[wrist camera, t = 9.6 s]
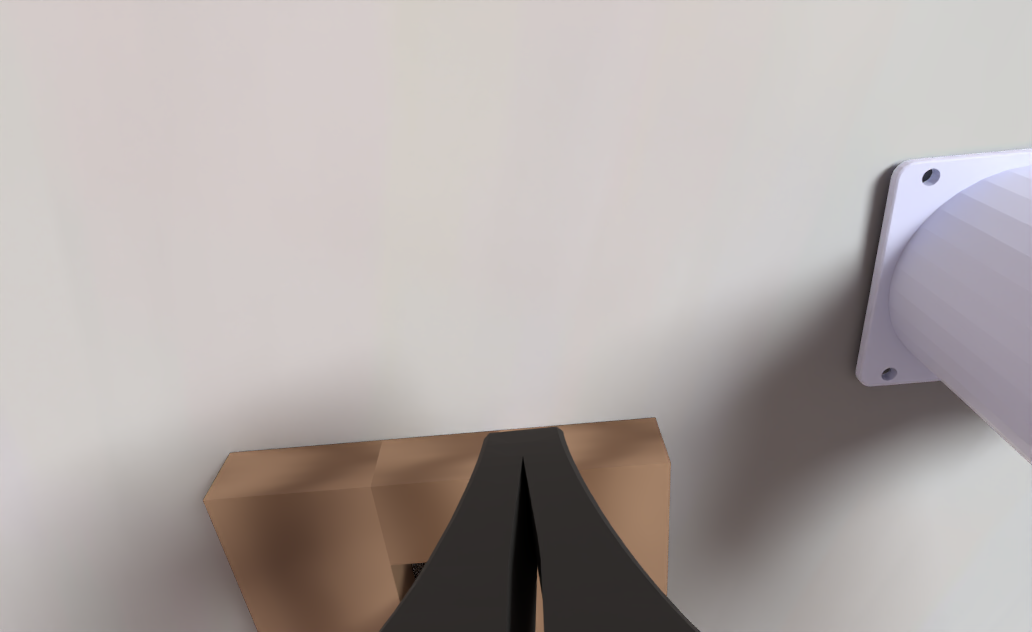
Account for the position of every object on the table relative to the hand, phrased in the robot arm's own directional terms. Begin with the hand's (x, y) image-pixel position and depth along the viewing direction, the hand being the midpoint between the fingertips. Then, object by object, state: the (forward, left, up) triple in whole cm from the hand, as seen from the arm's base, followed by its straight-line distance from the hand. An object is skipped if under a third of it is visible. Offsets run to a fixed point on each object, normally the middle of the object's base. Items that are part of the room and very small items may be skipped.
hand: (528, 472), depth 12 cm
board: (+4, +13, -10) cm, 17 cm away
